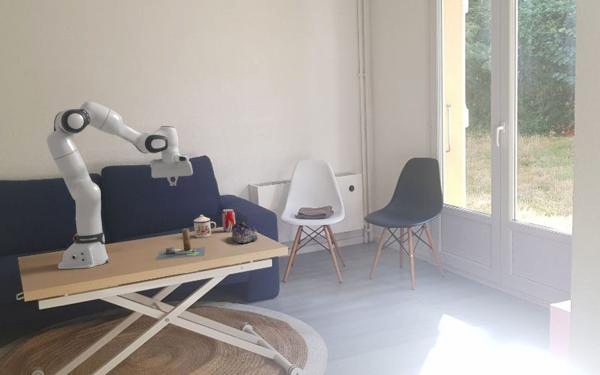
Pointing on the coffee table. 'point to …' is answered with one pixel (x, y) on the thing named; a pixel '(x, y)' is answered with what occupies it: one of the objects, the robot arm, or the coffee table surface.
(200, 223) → the teacup with lid
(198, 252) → the dial plate
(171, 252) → the tuning lever
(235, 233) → the geode
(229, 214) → the soda can
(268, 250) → the coffee table surface
